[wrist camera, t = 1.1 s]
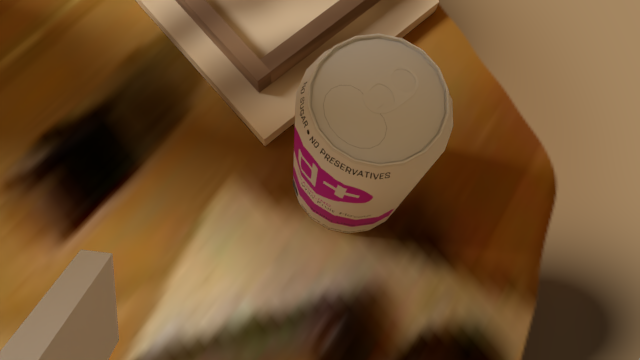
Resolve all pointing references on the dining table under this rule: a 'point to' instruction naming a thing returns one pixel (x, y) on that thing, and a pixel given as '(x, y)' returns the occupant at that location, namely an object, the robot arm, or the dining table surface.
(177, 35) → the oak stand
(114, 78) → the dining table surface
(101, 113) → the dining table surface
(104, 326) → the robot arm
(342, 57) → the supplement can
